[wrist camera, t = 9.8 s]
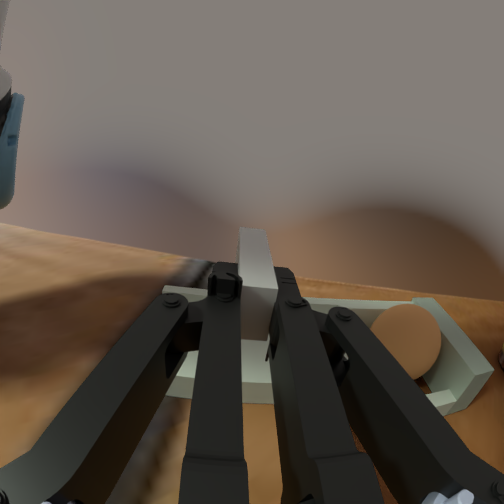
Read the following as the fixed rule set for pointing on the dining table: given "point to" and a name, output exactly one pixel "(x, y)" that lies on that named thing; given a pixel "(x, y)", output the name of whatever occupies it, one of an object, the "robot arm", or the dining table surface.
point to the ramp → (258, 370)
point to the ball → (409, 337)
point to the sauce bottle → (502, 357)
